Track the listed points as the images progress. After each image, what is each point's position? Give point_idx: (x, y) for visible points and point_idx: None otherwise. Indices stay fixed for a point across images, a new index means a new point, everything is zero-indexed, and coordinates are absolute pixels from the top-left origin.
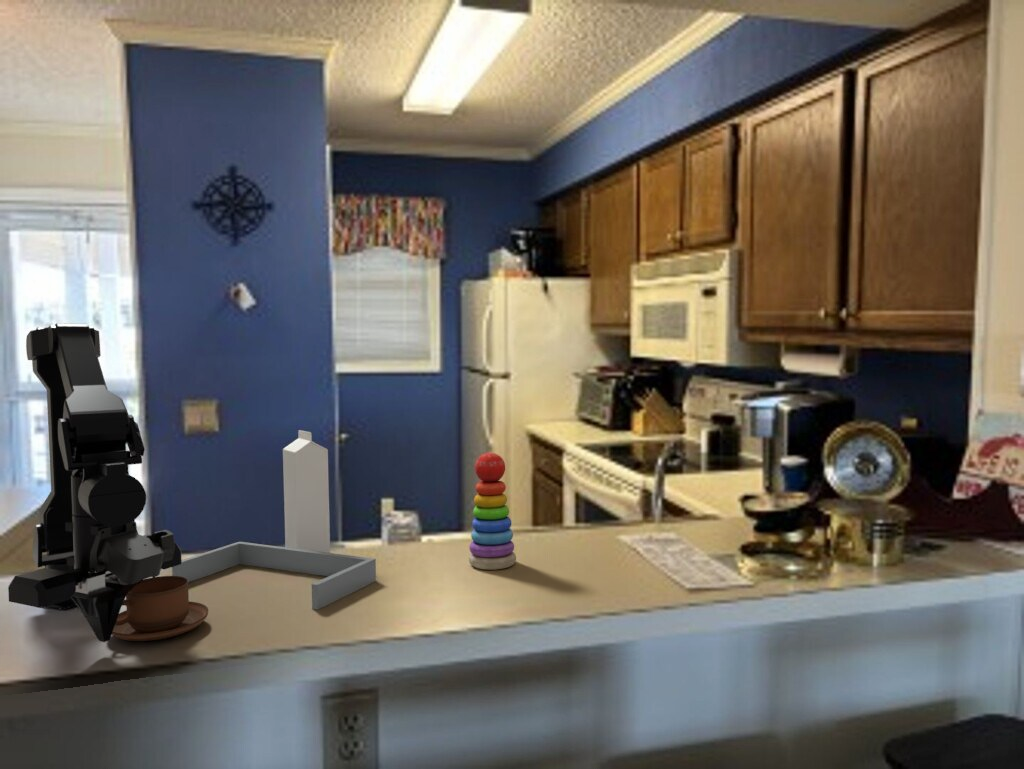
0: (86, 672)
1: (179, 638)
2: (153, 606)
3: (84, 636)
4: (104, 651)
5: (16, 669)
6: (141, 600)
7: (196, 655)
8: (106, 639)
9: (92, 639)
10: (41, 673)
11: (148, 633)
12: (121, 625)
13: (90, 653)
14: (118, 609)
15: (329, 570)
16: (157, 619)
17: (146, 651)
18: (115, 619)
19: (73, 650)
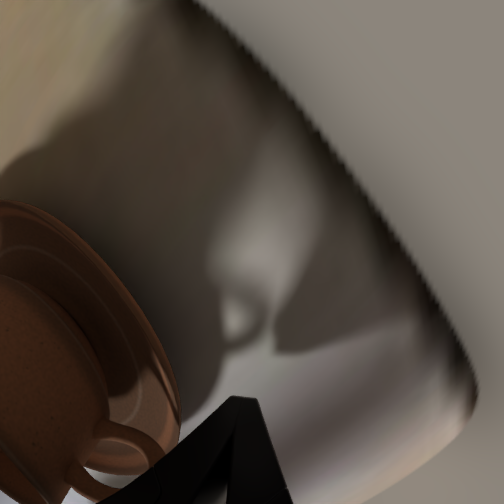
0: (406, 300)
1: None
2: (9, 366)
3: None
4: (236, 388)
5: (408, 465)
6: (27, 433)
7: (121, 30)
8: (248, 400)
9: None
10: (428, 409)
11: (111, 283)
12: (113, 441)
13: (268, 412)
14: (154, 479)
15: None
16: (38, 324)
17: (165, 246)
18: (186, 446)
19: None
